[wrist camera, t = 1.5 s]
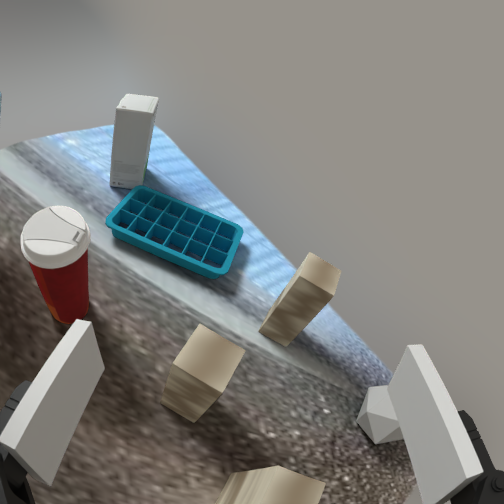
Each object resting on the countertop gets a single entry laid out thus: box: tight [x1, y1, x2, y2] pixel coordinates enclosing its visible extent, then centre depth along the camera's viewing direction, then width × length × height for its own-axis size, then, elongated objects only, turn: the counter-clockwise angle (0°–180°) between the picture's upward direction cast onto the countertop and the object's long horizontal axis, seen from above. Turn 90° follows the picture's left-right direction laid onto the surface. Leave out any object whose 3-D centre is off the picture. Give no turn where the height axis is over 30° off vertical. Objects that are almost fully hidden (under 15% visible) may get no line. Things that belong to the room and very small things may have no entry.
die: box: [356, 385, 404, 444], centre depth 35 cm, size 8×9×10 cm
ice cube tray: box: [106, 185, 243, 279], centre depth 49 cm, size 12×20×3 cm, turn 77°
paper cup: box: [21, 206, 91, 324], centre depth 30 cm, size 8×8×14 cm
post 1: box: [160, 324, 246, 423], centre depth 29 cm, size 5×4×13 cm
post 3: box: [215, 466, 326, 504], centre depth 22 cm, size 5×4×13 cm
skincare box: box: [110, 94, 159, 189], centre depth 50 cm, size 8×7×16 cm
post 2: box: [258, 253, 341, 347], centre depth 40 cm, size 5×4×13 cm
